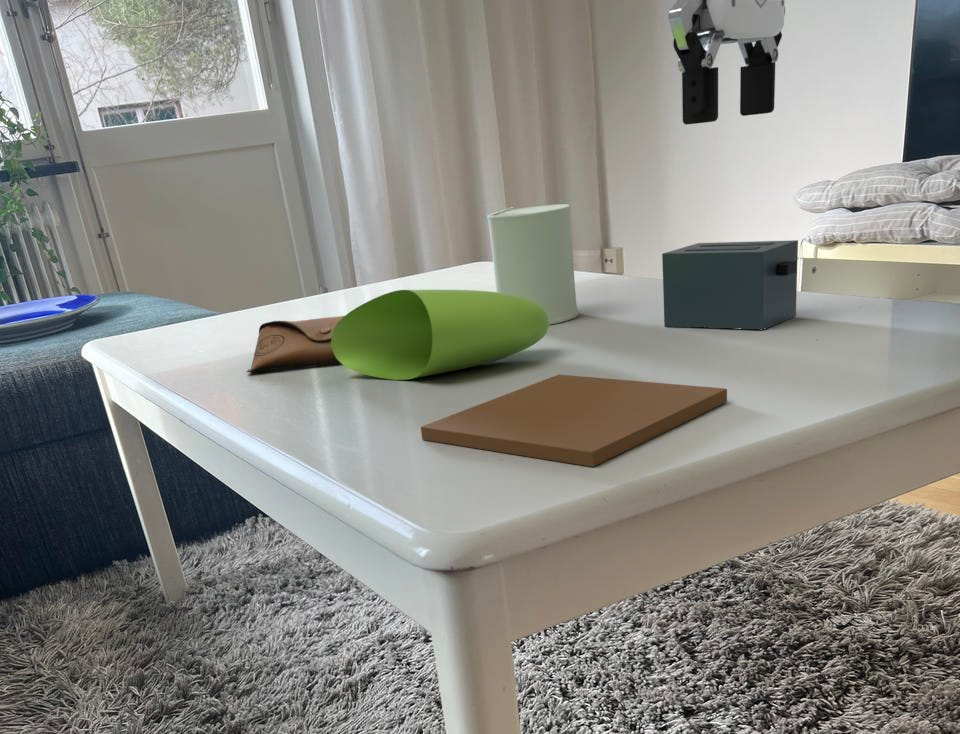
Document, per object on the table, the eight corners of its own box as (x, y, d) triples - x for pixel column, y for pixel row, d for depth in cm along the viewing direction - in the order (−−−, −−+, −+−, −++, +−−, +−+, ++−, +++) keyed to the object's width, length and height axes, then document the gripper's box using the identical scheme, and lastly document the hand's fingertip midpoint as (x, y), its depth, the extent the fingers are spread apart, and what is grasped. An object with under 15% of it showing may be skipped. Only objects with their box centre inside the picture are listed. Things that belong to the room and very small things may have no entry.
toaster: (807, 316, 95) (810, 239, 91) (774, 331, 91) (775, 250, 88) (699, 313, 103) (698, 242, 99) (664, 326, 99) (661, 253, 96)
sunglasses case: (241, 371, 101) (238, 309, 102) (264, 392, 108) (261, 333, 109) (410, 353, 99) (406, 289, 100) (423, 375, 106) (419, 316, 107)
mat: (727, 401, 71) (727, 388, 71) (593, 467, 62) (592, 452, 61) (559, 386, 82) (558, 374, 81) (422, 439, 72) (420, 426, 72)
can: (501, 316, 116) (490, 207, 110) (579, 308, 115) (571, 197, 109) (494, 331, 108) (481, 214, 102) (577, 322, 107) (569, 203, 101)
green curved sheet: (346, 288, 82) (567, 270, 87) (325, 302, 93) (521, 285, 98) (359, 384, 84) (574, 361, 89) (337, 386, 95) (528, 366, 100)
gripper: (715, -140, 71) (715, 122, 79) (823, -123, 82) (814, 107, 90) (631, -114, 76) (639, 130, 84) (743, -101, 87) (741, 115, 95)
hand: (729, 118), depth 87 cm, fingers open, 9 cm apart
